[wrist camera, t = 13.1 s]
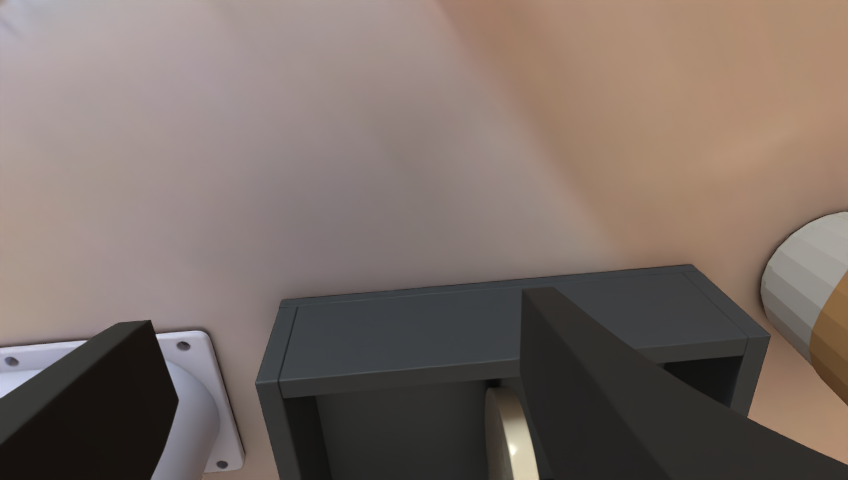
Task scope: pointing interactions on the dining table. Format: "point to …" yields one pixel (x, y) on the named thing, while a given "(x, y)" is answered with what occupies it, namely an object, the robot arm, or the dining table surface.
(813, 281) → the coffee cup
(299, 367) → the dark grey open box
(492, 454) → the saucer
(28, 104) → the dining table surface
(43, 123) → the dining table surface
